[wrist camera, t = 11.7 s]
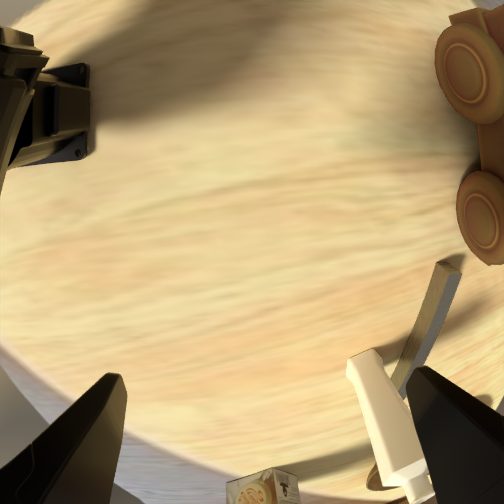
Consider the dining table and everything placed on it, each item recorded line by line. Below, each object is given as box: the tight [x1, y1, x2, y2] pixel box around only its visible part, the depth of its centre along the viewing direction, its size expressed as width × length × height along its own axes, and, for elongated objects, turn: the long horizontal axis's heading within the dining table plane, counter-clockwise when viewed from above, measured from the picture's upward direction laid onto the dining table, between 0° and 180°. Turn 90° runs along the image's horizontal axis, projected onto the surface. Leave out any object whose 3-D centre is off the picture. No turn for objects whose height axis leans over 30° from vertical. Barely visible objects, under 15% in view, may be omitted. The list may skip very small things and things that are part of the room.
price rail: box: [390, 263, 462, 400], centre depth 26 cm, size 2×22×2 cm, turn 176°
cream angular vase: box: [346, 348, 435, 504], centre depth 19 cm, size 5×4×15 cm
